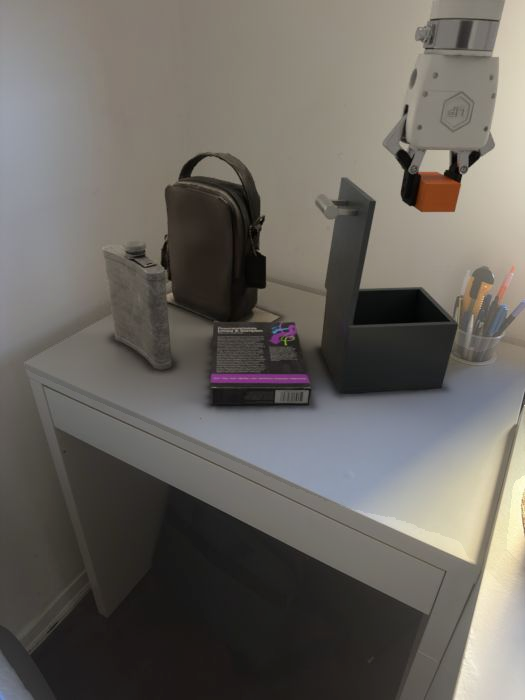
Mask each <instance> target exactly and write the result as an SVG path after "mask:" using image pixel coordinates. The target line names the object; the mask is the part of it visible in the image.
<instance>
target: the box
mask: <svg viewBox="0 0 525 700" xmlns="http://www.w3.org/2000/svg"><path fill="white" fill-rule="evenodd" d="M212 324H213V325H212V346H211V347H212V349H211V367H210V386H209V387H210V389H209V390H210V403H211V404H212V405H310V402H311V396H312V395H311V394H312V385H311V382H310V378H309V374H308V370H307V367H306V363H305V359H304V355H303V350H302V346H301V343H300V338H299V334H298V330H297V326H296V322H295V321H286V322H285V321H283V322H281V321H272V322H216V321H214V320H213V323H212Z"/></svg>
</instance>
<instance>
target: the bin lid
mask: <svg viewBox="0 0 525 700" xmlns="http://www.w3.org/2000/svg"><path fill="white" fill-rule="evenodd" d="M339 183H340V185H339V190H338V197H337V199H335V198H334V199H333V198H329V197H328V196H327V195H326V194H319V195H317V196H316V198H315V199H314V204H315V206H316V208H317V209H318V210H319V211H320V212H321V213H322V214H323V215H324V217H325V218H326V219H327V220H334V221H333V229H332V235H331V242H330V249H329V256H328V261H327V268H326V275H325V281H324V288H325V290H326V293H327V292H328V293H329V295H330V297H331V299H332V300H333V302H334V304H335V306H336V307H337V309H338V311H339V312H340V314H341V316H342V318H343V319H344V321H345V323H346V324H347V325H352V324H353V319H354V314H355V309H356V303H357V298H358V293H359V289H361V288H360V287H361V282H362V278H363V272H364V267H365V261H366V256H367V251H368V246H369V240H370V236H371V231H372V225H373V220H374V215H375V210H376V204H377V201H376V199H374V198H373V197H372V196H371V195H369V194H368V193H367V192H365V191H364V190H363V189H362V188H361V187H360V186H358V185H357V184H356V183H354V182H353V181H352V180H351V179H350V178H348V177H343V176H341V177H340V182H339Z"/></svg>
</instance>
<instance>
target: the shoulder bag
mask: <svg viewBox="0 0 525 700" xmlns="http://www.w3.org/2000/svg"><path fill="white" fill-rule="evenodd" d="M208 157H210V158H217V159H219V160H220V161H223V162H225V163H226V164H227V165H229V166H230V167H231V168H232V169H233V170H234V172H235V174H236V176H237V177H238V179H239V182H240V184H239V183H235V182H231V181H228V180H223V179H219V178H215V177H210V176H204V175H194V176H192V173H193V171H194V169H195V167H196V166H197V165H198V164H199V163H200V162H201V161H202V160H204V159H205V158H208ZM164 201H165V207H166V216H167V217H166V218H167V221H166V222H167V223H166V224H167V233H166V234H164V237H163V238H164V241H163V242H164V243H163V245H162V246H161V248H160V251H161V252H160V263H159V264H160V265H161V266H162V267H163V268H164V269H165V271H166V273H167V274H166V276H167V277H166V278H167V280H168V282H169V281H170V282H171V292H169V293H166V294H167V303H170V304H172V305H175V306H178V307H180V308H182V309H185V310H187V311H189V312H192V313H195V314H197V315H200V316H202V317H204V318H206V319H209V320H212V321H213V322H214V321H216V322H275V320H277V319H278V318H280V316H279V315H276V314H274V313H272V312H269V311H266V310H263V309H260V308H257V307H256V305H257V303H258V292H259V290H264V289H266V288H267V255H266V254H263V253H262V252H261V251H260V243H261V241H260V240H261V239H260V237H261V232H262V230H263V227H262V226H264V223H265V221H266V215H265V214H262V215H261V196H260V194H259V192H258V190H257V186H256V181H255V180H254V177H253V175H252V172H251V171H250V170H249V169H248V167H247V166H246V164H244V162H243V161H241V160H240V159H239V158H238V157H236V156H234V155H232V154H231V153H229V152H226V153H225V152H212V151H209V150H205V151H201V152H197V153H195V156H193V157H192V158H190V159H189V160H187V161H186V162H185V163H184V164H183V166H182V168H181V169H180V172H179V175H178V180H177V181H176V182H175V183H173V184H171V183H169V184H167V185H166V186H165V188H164Z"/></svg>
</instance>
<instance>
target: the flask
mask: <svg viewBox="0 0 525 700" xmlns="http://www.w3.org/2000/svg"><path fill="white" fill-rule="evenodd" d="M146 249H147V242H146V241H145V240H141V239H130V240H126V241H124V242H123V243H122V245H120V244H108V245H105V246H103V247H102V254H103V261H104V268H105V274H106V282H107V290H108V297H109V302H110V303H109V305H110V310H111V320H112V324H113V331H114V332H113V333H114V338H115V340H116V341H117V342H120V343H122V344H124V345H126V346H128V347H130V348H131V349H133V350H135V351H136V352H137V353H138V354H140V355H141V356H143V357H144V359H146V360H147V361H148V362H149V363H150V365H151V366H152V367H153V368H154V369H156V370H161V371H163V370H164V371H165V370H167V369H169V368H171V367H172V363H173V361H172V351H171V350H172V349H171V336H170V323H169V310H168V301H167V294H168V293H167V282H166V270H165V269H164V268H163V267H162V266H161V263H158V262H157V261H156V260H154V259H152V258H151V257H149V256H147V255H146V254H147V253H146V251H147V250H146Z"/></svg>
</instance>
